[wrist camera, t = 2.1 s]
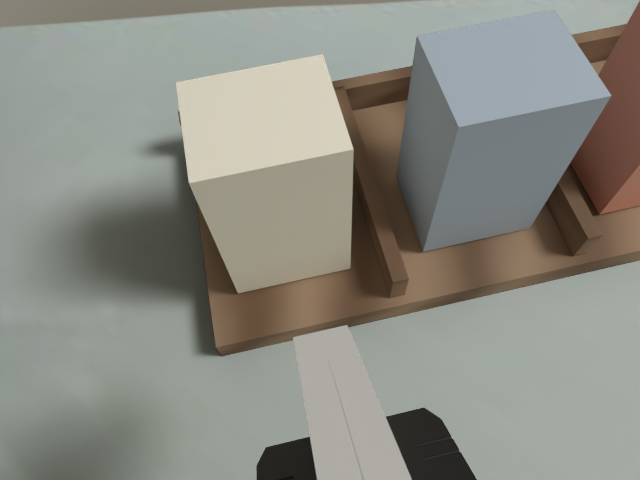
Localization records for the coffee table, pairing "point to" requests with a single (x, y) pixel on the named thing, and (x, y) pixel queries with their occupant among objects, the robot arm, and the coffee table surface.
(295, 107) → the cream rectangular block
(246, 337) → the wooden compartment tray
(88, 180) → the coffee table surface
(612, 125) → the salmon pink block
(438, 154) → the light blue block
